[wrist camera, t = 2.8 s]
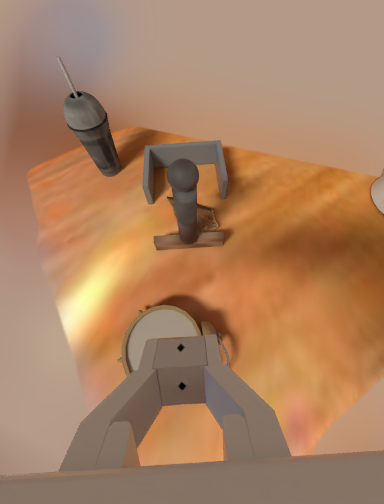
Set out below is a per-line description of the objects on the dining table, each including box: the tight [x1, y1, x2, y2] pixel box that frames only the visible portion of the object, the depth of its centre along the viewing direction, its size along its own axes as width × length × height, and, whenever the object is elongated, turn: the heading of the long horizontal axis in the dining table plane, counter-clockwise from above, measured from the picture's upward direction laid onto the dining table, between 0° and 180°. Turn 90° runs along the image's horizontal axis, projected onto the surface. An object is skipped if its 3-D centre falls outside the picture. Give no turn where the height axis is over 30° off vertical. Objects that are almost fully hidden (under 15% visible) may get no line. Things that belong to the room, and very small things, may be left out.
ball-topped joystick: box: [154, 158, 224, 250], centre depth 30 cm, size 12×4×18 cm, turn 94°
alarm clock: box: [118, 305, 229, 377], centre depth 29 cm, size 11×5×15 cm
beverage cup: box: [56, 56, 121, 176], centre depth 39 cm, size 7×7×20 cm
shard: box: [167, 197, 218, 233], centre depth 42 cm, size 11×8×2 cm
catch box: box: [143, 140, 228, 204], centre depth 44 cm, size 16×12×5 cm
